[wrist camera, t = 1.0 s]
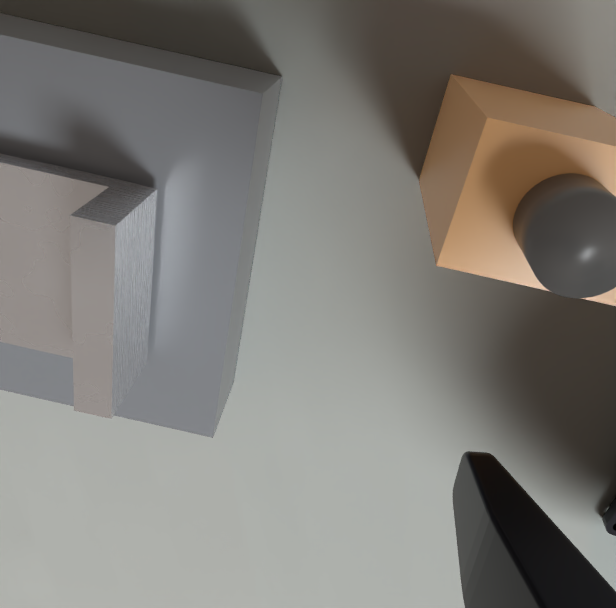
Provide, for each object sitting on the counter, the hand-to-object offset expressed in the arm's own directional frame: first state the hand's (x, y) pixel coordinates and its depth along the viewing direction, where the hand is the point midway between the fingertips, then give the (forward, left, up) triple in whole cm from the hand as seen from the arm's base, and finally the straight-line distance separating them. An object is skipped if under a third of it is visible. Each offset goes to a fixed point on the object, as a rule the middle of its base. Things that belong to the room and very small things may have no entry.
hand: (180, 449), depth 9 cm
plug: (-6, -4, -10) cm, 12 cm away
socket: (+6, +1, -10) cm, 12 cm away
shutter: (+6, +1, -7) cm, 9 cm away
